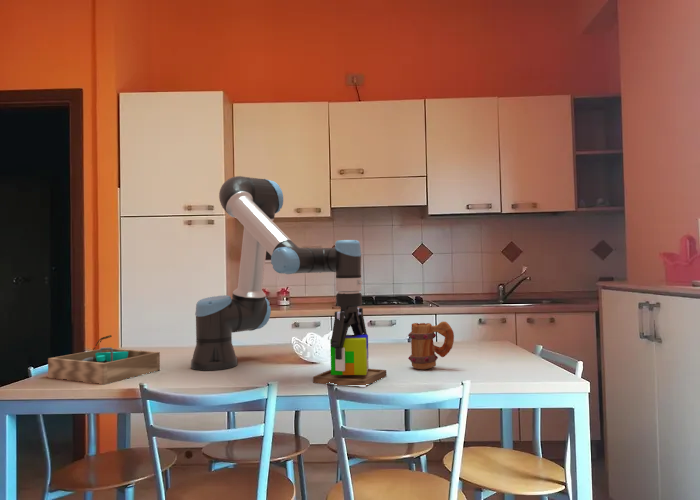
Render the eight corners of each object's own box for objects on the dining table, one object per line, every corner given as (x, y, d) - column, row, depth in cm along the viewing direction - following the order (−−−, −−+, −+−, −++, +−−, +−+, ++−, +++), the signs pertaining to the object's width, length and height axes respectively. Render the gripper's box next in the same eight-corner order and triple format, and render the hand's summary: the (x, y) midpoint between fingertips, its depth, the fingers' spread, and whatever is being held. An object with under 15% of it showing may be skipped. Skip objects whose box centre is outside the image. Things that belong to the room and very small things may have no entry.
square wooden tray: (313, 382, 154) (313, 376, 154) (339, 372, 168) (339, 366, 168) (363, 387, 147) (363, 381, 147) (386, 376, 161) (386, 370, 161)
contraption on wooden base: (68, 382, 162) (67, 332, 163) (93, 370, 180) (93, 325, 180) (115, 380, 163) (115, 330, 163) (136, 368, 181) (135, 323, 181)
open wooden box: (48, 377, 168) (48, 358, 169) (106, 365, 188) (106, 348, 188) (103, 384, 157) (103, 363, 157) (159, 370, 176) (159, 352, 176)
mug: (405, 370, 169) (404, 322, 170) (412, 365, 177) (411, 319, 177) (451, 372, 164) (450, 323, 164) (456, 367, 171) (455, 320, 172)
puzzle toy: (368, 367, 162) (367, 334, 162) (366, 375, 152) (365, 339, 152) (335, 367, 163) (335, 334, 163) (331, 374, 153) (330, 339, 153)
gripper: (341, 295, 145) (342, 375, 145) (377, 290, 167) (378, 360, 167) (317, 295, 149) (318, 373, 148) (355, 290, 170) (356, 358, 170)
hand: (350, 366), depth 157 cm, fingers closed on puzzle toy, 12 cm apart
